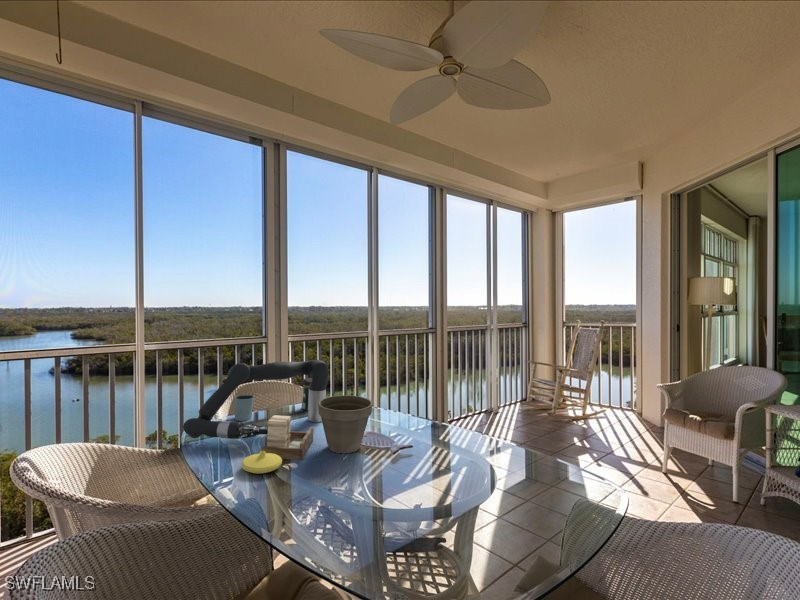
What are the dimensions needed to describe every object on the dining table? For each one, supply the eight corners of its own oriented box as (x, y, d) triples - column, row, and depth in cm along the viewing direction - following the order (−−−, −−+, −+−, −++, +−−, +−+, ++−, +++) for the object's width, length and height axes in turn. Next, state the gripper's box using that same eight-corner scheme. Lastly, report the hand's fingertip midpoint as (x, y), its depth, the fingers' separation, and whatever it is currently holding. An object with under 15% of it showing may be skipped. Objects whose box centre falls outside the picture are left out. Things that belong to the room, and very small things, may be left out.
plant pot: (318, 460, 178) (320, 410, 177) (314, 439, 202) (316, 395, 201) (374, 457, 185) (377, 409, 184) (364, 437, 208) (367, 394, 208)
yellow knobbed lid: (267, 457, 178) (268, 441, 178) (289, 469, 168) (290, 452, 168) (233, 468, 166) (234, 451, 166) (254, 482, 156) (255, 463, 156)
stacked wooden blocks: (272, 440, 192) (273, 415, 192) (290, 441, 192) (291, 416, 192) (266, 447, 184) (267, 420, 184) (285, 448, 184) (286, 421, 184)
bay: (275, 439, 199) (276, 425, 199) (312, 441, 199) (313, 427, 199) (260, 457, 178) (261, 441, 178) (302, 459, 178) (303, 443, 178)
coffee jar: (314, 405, 256) (316, 376, 256) (319, 409, 250) (321, 378, 249) (299, 407, 251) (301, 377, 250) (304, 411, 244) (305, 380, 244)
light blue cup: (229, 419, 223) (230, 397, 223) (241, 414, 233) (242, 393, 232) (245, 422, 220) (246, 400, 220) (257, 417, 230) (258, 395, 229)
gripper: (223, 426, 181) (263, 428, 181) (236, 417, 195) (272, 419, 195) (223, 443, 182) (262, 445, 182) (235, 432, 195) (272, 434, 195)
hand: (267, 431), depth 188 cm, fingers closed
